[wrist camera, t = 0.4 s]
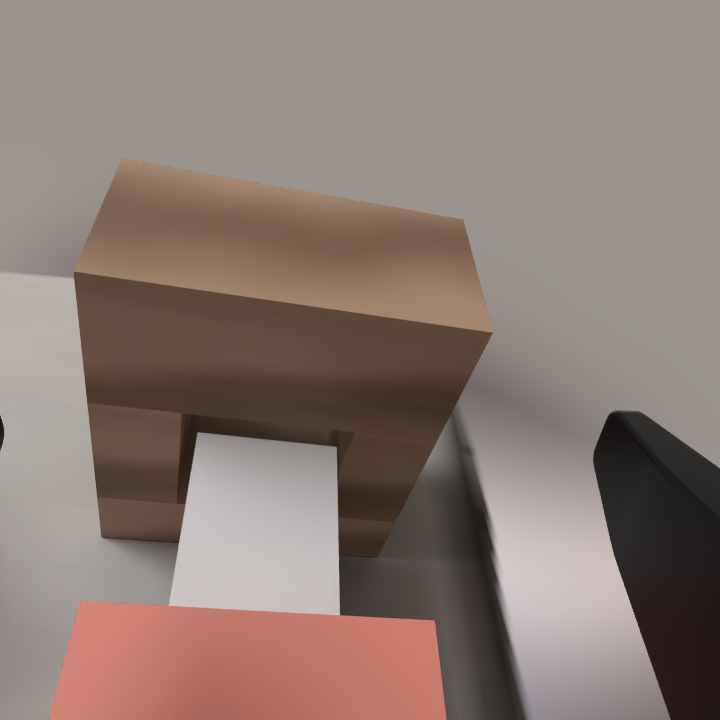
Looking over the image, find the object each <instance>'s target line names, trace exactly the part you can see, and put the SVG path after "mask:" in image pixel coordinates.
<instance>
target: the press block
mask: <svg viewBox="0 0 720 720" xmlns="http://www.w3.org/2000/svg"><path fill="white" fill-rule="evenodd" d="M74 280H75V289H76V299H77V309H78V318H79V328H80V337H81V347H82V356H83V366H84V375H85V385H86V394H87V404H88V413H89V423H90V432H91V442H92V451H93V461H94V470H95V480H96V489H97V499H98V508H99V518H100V527H101V537H110V538H124V539H137V540H151V541H165V542H178V543H179V541H180V535H181V529H182V523H183V517H184V511H185V505H186V499H187V493H188V487H189V481H190V475H191V469H192V463H193V457H194V451H195V445H196V440H197V434H198V432H199V433H209V434H218V435H228V436H237V437H247V438H256V439H266V440H275V441H285V442H294V443H304V444H313V445H323V446H332V447H337V489H338V543H339V554H342V555H356V556H370V557H377V556H378V554H379V552H380V550H381V548H382V546H383V545H384V543H385V541H386V539H387V537H388V535H389V533H390V531H391V529H392V527H393V525H394V523H395V521H396V519H397V517H398V515H399V514H400V512H401V510H402V508H403V506H404V504H405V502H406V500H407V498H408V496H409V494H410V492H411V490H412V488H413V486H414V484H415V483H416V481H417V479H418V477H419V475H420V473H421V471H422V469H423V467H424V465H425V463H426V461H427V459H428V457H429V455H430V454H431V452H432V450H433V448H434V446H435V444H436V442H437V440H438V438H439V436H440V434H441V432H442V430H443V428H444V426H445V424H446V423H447V421H448V419H449V417H450V415H451V413H452V411H453V409H454V407H455V405H456V403H457V401H458V399H459V397H460V395H461V393H462V392H463V390H464V388H465V386H466V384H467V382H468V380H469V378H470V376H471V374H472V372H473V370H474V368H475V366H476V364H477V362H478V360H479V359H480V357H481V355H482V353H483V350H484V349H485V347H486V345H487V343H488V341H489V339H490V337H491V335H492V333H493V331H492V327H491V324H490V320H489V316H488V312H487V308H486V305H485V301H484V297H483V293H482V290H481V286H480V282H479V278H478V275H477V271H476V267H475V263H474V259H473V256H472V252H471V248H470V244H469V240H468V236H467V233H466V229H465V225H464V221H463V220H462V219H456V218H451V217H445V216H439V215H434V214H429V213H423V212H417V211H412V210H406V209H401V208H395V207H390V206H384V205H378V204H372V203H367V202H362V201H355V200H351V199H345V198H339V197H333V196H328V195H323V194H317V193H311V192H306V191H300V190H295V189H289V188H284V187H278V186H273V185H267V184H261V183H255V182H250V181H245V180H239V179H233V178H228V177H222V176H217V175H211V174H206V173H200V172H194V171H189V170H183V169H178V168H172V167H166V166H161V165H155V164H150V163H144V162H138V161H133V160H127V159H121V162H120V164H119V166H118V168H117V171H116V173H115V175H114V178H113V180H112V183H111V185H110V188H109V190H108V192H107V194H106V197H105V199H104V201H103V204H102V206H101V208H100V211H99V213H98V215H97V218H96V220H95V222H94V225H93V227H92V230H91V232H90V234H89V237H88V239H87V241H86V244H85V246H84V248H83V251H82V253H81V255H80V258H79V260H78V263H77V265H76V267H75V270H74Z"/></svg>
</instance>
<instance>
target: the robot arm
mask: <svg viewBox="0 0 720 720" xmlns="http://www.w3.org/2000/svg"><path fill="white" fill-rule="evenodd" d="M3 439H4V426H3V423H2V419H1V416H0V450H1V447H2V444H3ZM593 462H594V468H595V473H596V477H597V482H598V486H599V491H600V495H601V500H602V504H603V509H604V513H605V518H606V522H607V527H608V531H609V536H610V540H611V544H612V548H613V552H614V556H615V559H616V562H617V565H618V568H619V571H620V574H621V577H622V580H623V583H624V586H625V588H626V591H627V594H628V597H629V600H630V603H631V606H632V609H633V612H634V615H635V617H636V620H637V623H638V626H639V629H640V632H641V634H642V638H643V641H644V643H645V646H646V649H647V652H648V655H649V658H650V661H651V664H652V666H653V669H654V672H655V675H656V678H657V681H658V684H659V687H660V690H661V692H662V695H663V698H664V701H665V704H666V707H667V709H668V713H669V716H670V718H671V720H720V468H718V467H717V466H716V465H714V464H713V463H712V462H710V461H709V460H707V459H706V458H705V457H703V456H702V455H701V454H699V453H698V452H696V451H695V450H694V449H692V448H691V447H689V446H688V445H686V444H685V443H684V442H682V441H681V440H680V439H678V438H677V437H675V436H674V435H673V434H671V433H670V432H668V431H667V430H666V429H664V428H663V427H661V426H660V425H659V424H657V423H656V422H654V421H653V420H652V419H650V418H649V417H647V416H646V415H644V414H643V413H641V412H639V411H625V410H615V411H613V412H611V413H610V414H609V416H608V417H607V419H606V422H605V424H604V427H603V429H602V432H601V435H600V437H599V439H598V442H597V444H596V447H595V450H594V456H593Z"/></svg>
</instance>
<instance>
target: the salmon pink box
mask: <svg viewBox="0 0 720 720" xmlns="http://www.w3.org/2000/svg"><path fill="white" fill-rule="evenodd" d="M49 720H447V718H446V710H445V702H444V693H443V685H442V677H441V668H440V660H439V652H438V644H437V635H436V627H435V621H434V620H416V619H398V618H380V617H362V616H343V615H340V597H339V543H338V489H337V447H332V446H323V445H313V444H304V443H294V442H285V441H275V440H266V439H256V438H247V437H237V436H228V435H218V434H209V433H199V432H198V434H197V440H196V445H195V451H194V457H193V463H192V469H191V475H190V481H189V487H188V493H187V499H186V505H185V511H184V517H183V523H182V529H181V535H180V541H179V547H178V553H177V559H176V565H175V571H174V577H173V583H172V589H171V595H170V601H169V606H162V605H143V604H125V603H107V602H89V601H80V603H79V607H78V611H77V615H76V618H75V622H74V626H73V630H72V633H71V637H70V641H69V645H68V648H67V652H66V656H65V660H64V664H63V667H62V671H61V675H60V679H59V682H58V686H57V690H56V694H55V697H54V701H53V705H52V709H51V713H50V716H49Z"/></svg>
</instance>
